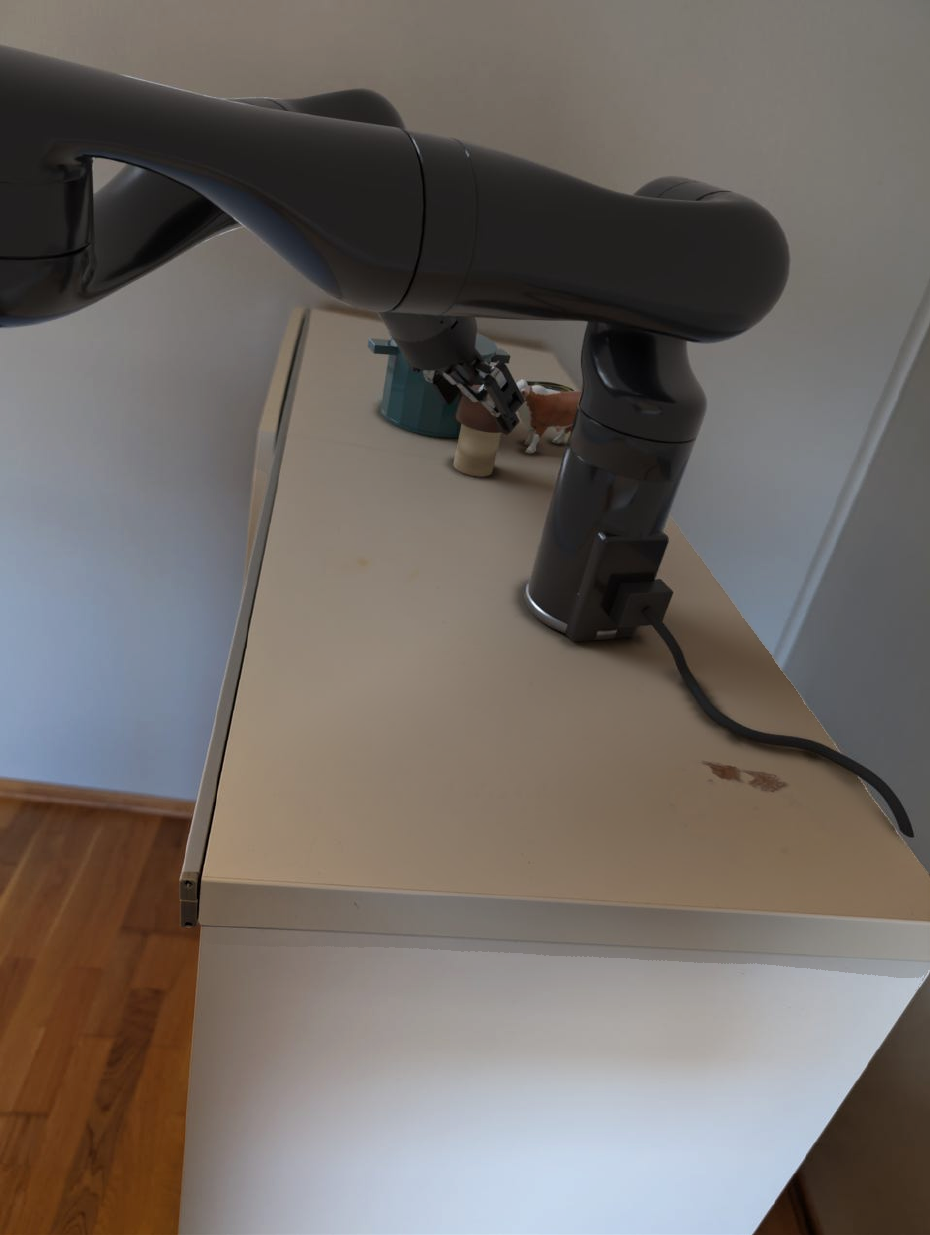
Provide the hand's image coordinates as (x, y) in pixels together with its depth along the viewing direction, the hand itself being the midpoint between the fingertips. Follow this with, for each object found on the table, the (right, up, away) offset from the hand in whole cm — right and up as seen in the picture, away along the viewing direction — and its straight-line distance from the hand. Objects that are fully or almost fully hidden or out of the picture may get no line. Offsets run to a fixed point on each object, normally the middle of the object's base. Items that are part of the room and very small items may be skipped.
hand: (481, 412), depth 91 cm
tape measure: (+9, +6, +25) cm, 27 cm away
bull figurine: (+8, -1, +14) cm, 16 cm away
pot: (-6, +3, +14) cm, 16 cm away
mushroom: (-1, -5, +4) cm, 7 cm away
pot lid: (-4, +11, +9) cm, 15 cm away
